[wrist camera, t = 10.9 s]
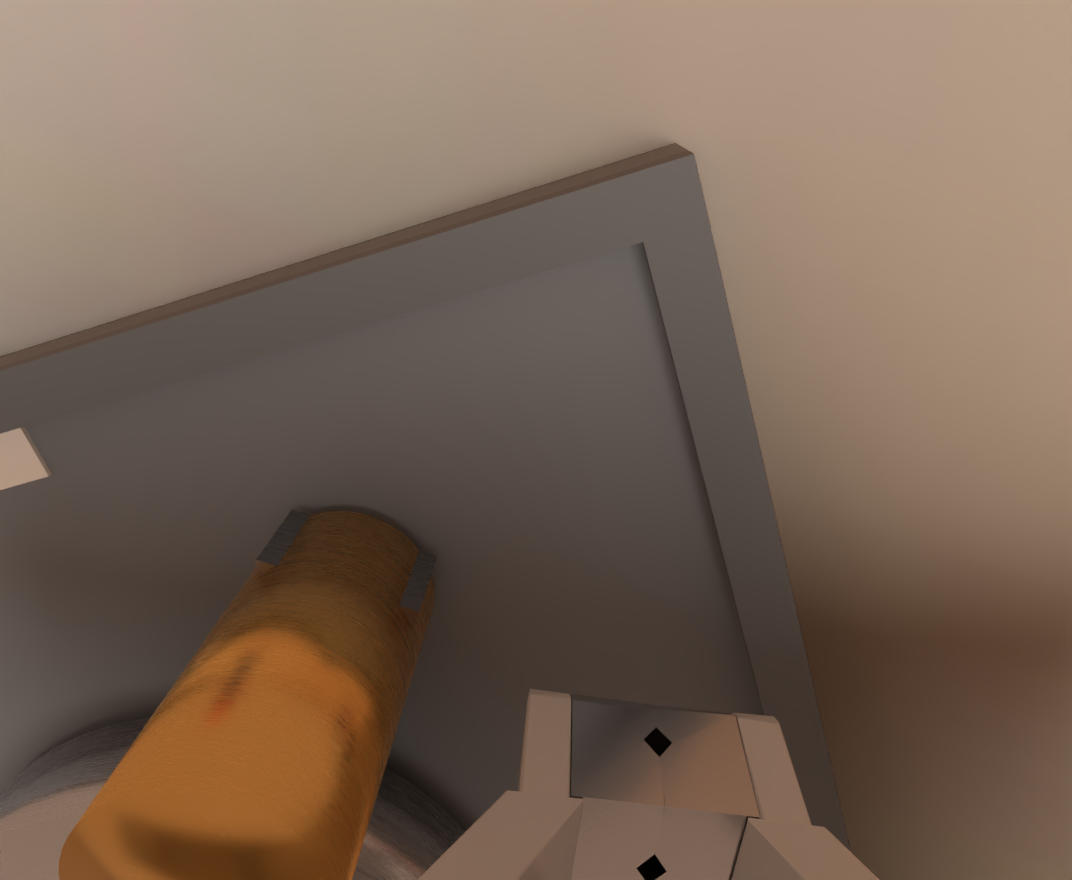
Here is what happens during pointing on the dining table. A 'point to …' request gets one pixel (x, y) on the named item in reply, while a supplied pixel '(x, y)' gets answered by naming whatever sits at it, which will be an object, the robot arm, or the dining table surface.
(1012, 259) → the dining table surface
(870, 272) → the dining table surface
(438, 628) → the dial plate
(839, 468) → the dining table surface
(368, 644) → the dial
